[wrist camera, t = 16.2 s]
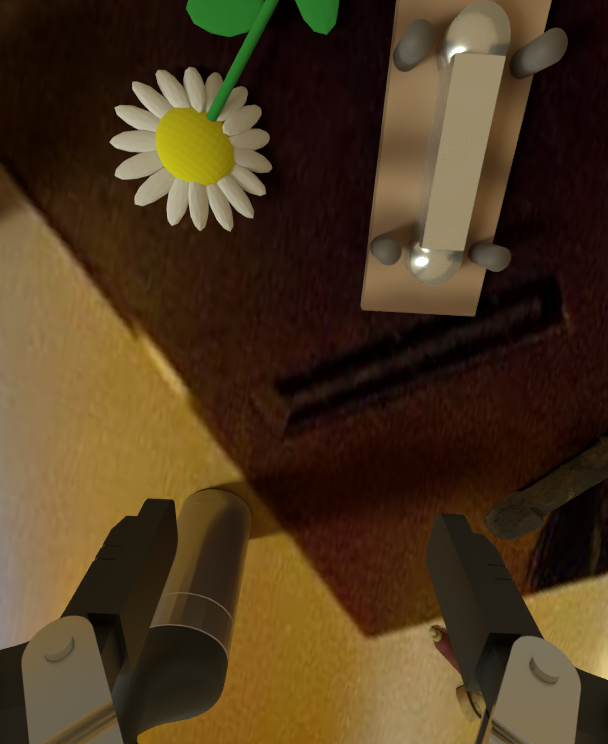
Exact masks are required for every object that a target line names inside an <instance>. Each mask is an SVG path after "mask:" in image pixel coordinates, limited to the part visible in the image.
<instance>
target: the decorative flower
mask: <svg viewBox="0 0 608 744" xmlns="http://www.w3.org/2000/svg"><path fill="white" fill-rule="evenodd" d="M295 1H296V3H297V5H298V8H299V10H300V12H301V15H302V17H303V19H304V20H305V22H306V23H307V24H308V25H309V26H310V27H311V28H312V29H313V30H314V31H315V32H319V33H322V34H326V35H327V34H328V32H329V31H330V30H331V29H332V28H333V26H334V25H335V24H336V19H337V13H338V7H339V0H295ZM278 2H279V0H265V2H264V1H263V0H188V3H187V7H186V9H187V11H188V13H189V15H190V17H191V19H192V20H193V22H194V24H196V25H198V26H200V27H201V28H203V29H205V30H206V31H208V32H210V33H212V34H217V35H223V36H228V37H231V36H235V35H239V34H243V33H246V32H249V33H248V35H247V37H246V39H245V41H244V43H243V45H242V47H241V49H240V51H239V53H238V55H237V57H236V59H235V61H234V62H233V64H232V66H231V68H230V70H229V72H228V74H227V76H226V78H225V80H224V82H223V80H222V77H221V75H220V74H218V73H216V72H214V73H212V74H211V75H210V76H209V77H208V78H207V81H206V84H205V85H204V83H203V80H202V78H201V75H200V74H199V73H198V71H197V70H196V68H193V67H189V68H188V69H187V70H185V74H184V79H183V82H184V88H183V86H182V85H181V84H180V83H179V82H178V81H177V79H176V78H175V77H174V76H172V75H171V74H170V73H168V72H167V71H165V70H158V71H157V73H156V78H157V82H158V85H159V87H160V89H161V91H162V93H163V95H164V97H165V98H164V97H163V96H162V95H160V94H159V93H158V92H157V91H155V90H154V89H153V88H152V87H150V86H148V85H145V84H143V83H140V82H132V87H133V91H134V92H135V94H136V95H137V97H138V98H139V100H140V101H141V102H142V103H143V104H144V105H145V106H146V107H147V108H148V109H149V110H150V112H149V111H146V110H143V109H141V108H138V107H135V106H132V105H120V106H117V107H115V110H116V113H117V115H118V116H119V117H120V118H122V119H123V120H124V121H125V122H126V123H128V124H129V125H131V126H133V127H135V128H137V129H138V131H128V132H123V133H121V134H118V135H116V136H114V137H113V138H112V140H111V141H110V143H111V144H112V145H113V146H114V147H115V148H118V149H122V150H125V151H129V152H143V153H140V154H137V155H135V156H133V157H131V158H129V159H127V160H125V161H124V162H123V163H122V164H121V165H120V166H119V167H118V168H117V169H116V172H115V176H117V177H118V178H120V179H137V178H141V177H144V176H148V175H151V174H153V173H155V172H156V173H155V174H153V175H151V176H150V177H149V178H148V179H147V180H146V181H145V182H144V183H143V184H142V185H141V186H140V188H139V190H138V192H137V193H136V195H135V204H136V205H141V206H144V205H147V204H149V203H152V202H155V201H156V200H158V199H159V198H161V197H162V196H164V195H166V194H167V193H168V192H169V196H168V203H167V217H168V221H169V223H170V224H171V226H173V225H175V224H178V223H179V221H180V220H181V218H182V217H183V215H184V214H185V212H186V209H187V206H188V203H189V207H190V214H191V218H192V220H193V222H194V225H195V226H196V228H197V229H198V230H199V231H201V230H202V229H203V228H205V225H206V221H207V218H208V207H209V204H210V206H211V208H212V210H213V212H214V215H215V217H216V219H217V220H218V222H219V223H220V224H221V225H222V226H223V227H224V228H225V229H227V230H228V231H231V229H232V227H233V218H232V211H231V208H230V205H229V202H230V203H231V204H232V206H233V207H234V208H235V209H236V210H237V211H238V212H239V213H241V214H242V215H244V216H246V217H247V218H253V214H254V211H253V208H252V206H251V203H250V201H249V199H248V197H247V196H246V194H245V193H244V191H243V190H245V191H247V192H249V193H251V194H255V195H260V196H261V195H264V194H266V190H265V186H264V185H263V184H262V183H261V181H260V180H259V179H258V178H257V177H256V176H255V175H254V174H253V173H252V172H257V173H266V172H269V171H270V170H271V169H272V166H271V163H270V162H269V161H268V160H267V159H266V158H265V157H264V156H263V155H261V154H259V153H257V152H255V151H254V150H257V149H260V148H262V147H264V146H265V145H266V144H267V143H268V142H269V139H270V137H269V134H268V133H267V132H266V131H264V130H261V129H250V128H251V127H252V126H253V125H254V124H255V123H257V121H258V120H259V118H260V116H261V114H262V112H261V108H260V107H258V106H256V105H248V106H244V104H245V103H246V99H247V96H248V91H247V89H246V88H245V87H243V86H240V87H237V88H234V86H235V84H236V82H237V80H238V79H239V77H240V75H241V73H242V71H243V69H244V67H245V65H246V63H247V61H248V59H249V57H250V56H251V54H252V52H253V50H254V48H255V46H256V44H257V42H258V40H259V38H260V36H261V34H262V32H263V31H264V29H265V27H266V25H267V23H268V21H269V19H270V17H271V15H272V13H273V11H274V9H275V8H276V6H277V4H278ZM233 88H234V89H233ZM243 106H244V107H243ZM225 120H226V121H225ZM164 167H165V168H164ZM157 171H158V172H157ZM250 171H252V172H250ZM242 189H243V190H242Z"/></svg>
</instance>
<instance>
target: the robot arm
mask: <svg viewBox="0 0 608 744" xmlns="http://www.w3.org/2000/svg"><path fill="white" fill-rule="evenodd" d="M251 524H252V514H251V510H250V509H249V507H248V505H247V504H246V503H245V502H244V501H243V500H242V499H241V498H240V497H238V496H237V495H235V494H233V493H231V492H228V491H224V490H218V489H207V490H203V491H199V492H197V493H194V494H193V495H191V496H190V497H189V498H188V499H187V500H186V501H185V502H184V505H183V507H182V509H181V512H180V514H179V517H178V519H177V521H176V512H175V503H174V501H173V500H169V499H149V498H148V499H147V500H146V501H145V502H144V504H143V506H142V508H141V510H140V512H139V514H138V516H126V517H125V518H124V519H122V520H121V521H120V522H119V523H118V524H117V525H116V526H115V527H113V528H112V529H111V531H110V533H109V535H108V536H107V538H106V540H105V542H104V543H103V546H102V548H100V550H99V552H98V554H97V555H96V557H95V561H93V562H92V564H91V566H90V568H89V569H88V571H87V573H86V574H85V576H84V578H83V580H82V581H81V583H80V585H79V587H78V588H77V590H76V592H75V594H74V595H73V597H72V599H71V600H70V602H69V604H68V606H67V607H66V609H65V611H64V612H63V614H62V615H61V617H60V618H59V619H57V620H55V621H53V622H51V623H49V624H48V625H46V626H45V627H43V628H42V629H41V630H40V631H39V632H37V633H36V635H35V636H34V637H33V638H32V639H31V640H30V641H28V642H26V643H23V644H20V645H17V646H13V647H10V648H6V649H2V650H0V744H138V743H137V736H138V735H139V734H141V733H143V732H144V731H146V730H148V729H150V728H153V727H155V726H158V725H161V724H165V723H170V722H175V721H179V720H185V719H189V718H192V717H195V716H198V715H200V714H202V713H204V712H206V711H207V710H209V709H210V708H211V707H212V706H213V705H214V704H215V703H216V702H217V701H218V699H219V698H220V695H221V693H222V691H223V687H224V683H225V678H226V672H227V666H228V659H229V653H230V647H231V641H232V635H233V628H234V623H235V617H236V611H237V605H238V599H239V593H240V588H241V582H242V576H243V570H244V564H245V558H246V553H247V547H248V542H249V536H250V530H251ZM427 567H428V571H429V574H430V578H431V581H432V584H433V587H434V590H435V594H436V597H437V600H438V603H439V606H440V609H441V613H442V616H443V619H444V622H445V625H446V629H447V632H448V635H449V638H450V641H451V644H452V648H453V651H454V654H455V657H456V660H457V664H458V667H459V670H460V673H461V676H462V680H463V683H464V686H465V689H466V691H469V692H481V693H482V695H483V698H484V701H485V704H486V707H485V709H484V712H483V715H482V718H481V722H480V725H479V728H478V731H477V735H476V738H475V741H474V744H608V680H606V679H604V678H601V677H598V676H595V675H593V674H590V673H587V672H585V671H582V670H580V669H578V668H576V667H574V665H573V664H572V663H571V661H570V660H569V659H568V658H567V656H566V655H565V654H564V653H563V652H562V651H561V650H559V649H558V648H557V647H556V646H554V645H553V644H551V643H550V642H548V641H546V640H544V638H543V636H542V634H541V633H540V631H539V629H538V627H537V625H536V623H535V621H534V619H533V617H532V615H531V614H530V612H529V610H528V608H527V606H526V604H525V602H524V600H523V598H522V596H521V594H520V592H519V591H518V589H517V587H516V585H515V583H514V582H513V581H512V577H511V575H510V573H509V571H508V570H507V568H505V564H504V562H503V560H502V558H501V556H500V554H499V552H498V550H497V548H496V547H495V546H494V545H493V544H492V543H491V542H490V541H489V540H488V539H487V538H486V537H485V536H484V535H483V534H473V532H472V530H471V528H470V526H469V523H468V521H467V519H466V518H465V516H463V515H457V514H437V515H436V517H435V520H434V524H433V528H432V532H431V536H430V539H429V543H428V547H427Z"/></svg>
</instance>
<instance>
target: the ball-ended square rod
mask: <svg viewBox="0 0 608 744" xmlns="http://www.w3.org/2000/svg"><path fill="white" fill-rule="evenodd" d="M510 38H511V27H510V22H509V18H508V16H507V14H506V12H505V11H504V10H503V8H502V7H501V6H499V5H498V4H496V3H495V2H492V1H487V0H482V1H477V2H474V3H472V4H470V5H468V6H467V7H466V8H464V9H463V10H462V11H461V12H460V13H459V15H458V16H457V17H456V18H455V19H454V20H453V21H452V23H451V24H450V25H449V26H448V27H447V28H446V30H445V31H444V33H443V35H442V36H441V39H440V41H439V44H438V48H437V66H438V69H439V78H438V84H437V90H436V96H435V103H434V109H433V115H432V121H431V127H430V133H429V140H428V146H427V152H426V158H425V164H424V170H423V177H422V183H421V189H420V195H419V201H418V207H417V213H416V220H415V226H414V232H413V238H412V240H411V241H410V243H409V244H408V246H407V249H406V252H405V264H406V267H407V269H408V271H409V272H410V273H411V274H412V275H413V276H414V277H416V278H417V279H418V280H419V281H420V282H422V283H424V284H427V285H440V284H443V283H446V282H447V281H449V280H450V279H452V278H453V277H454V276H455V275H456V274H457V272H458V271H459V269H460V267H461V264H462V260H463V251H464V247H465V243H466V238H467V234H468V229H469V224H470V220H471V215H472V210H473V206H474V201H475V197H476V192H477V187H478V183H479V178H480V174H481V169H482V164H483V160H484V155H485V150H486V146H487V141H488V137H489V132H490V127H491V123H492V118H493V114H494V109H495V104H496V100H497V95H498V90H499V86H500V81H501V77H502V72H503V67H504V63H505V58H506V56H505V55H506V53H507V50H508V48H509V44H510Z"/></svg>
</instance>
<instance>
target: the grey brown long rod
mask: <svg viewBox="0 0 608 744" xmlns="http://www.w3.org/2000/svg"><path fill="white" fill-rule="evenodd" d="M607 477H608V436H600V437H599V442H597V443H596V444H595V445H593V446H592V447H590V448H589V449H587V450H586V451H584V452H583V453H581V454H580V455H578V456H577V457H575V458H573V459H572V460H570V461H569V462H567V463H565V464H563V465H561V466H560V467H559V468H558V469H556V470H555V471H553V472H551V473H549V474H548V475H547V476H546V477H544V478H543V479H541V480H539V481H538V482H536V483H535V484H533V485H532V486H530V487H528V488H527V489H525V490H523V491H518V490H516V491H513V492H512V493H510V494H509V495H508V496H506V497H505V498H504V499H503V500H502V501H500V502H499V503H498V504H497V505H496V506H495V507H494V508H493V509H492V510H491V511H490V513H489V514H488V515H487V516H486V517H485V519H484V522H485V525H486V527H487V528H488V530H489V531H490V532H491V533H493V534H495V535H496V536H497V537H499V538H501V539H510V540H512V541H513V540H516V539H518V538H520V537H522V536H523V535H524V534H527V533H529V532H532V531H534V530H536V529H538V528H539V527H540V526H541V525H543V522H544V520H543V517H544V516H545V515H547V514H548V513H549V512H551V511H552V510H554V509H555V508H557V507H559V506H561V505H562V504H564V503H566V502H567V501H569V500H571V499H572V498H574V497H576V496H577V495H579V494H581V493H582V492H584V491H586V490H588V489H589V488H590V487H592V486H594V485H595V484H597V483H599V482H601V481H603V480H604V479H606V478H607Z"/></svg>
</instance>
